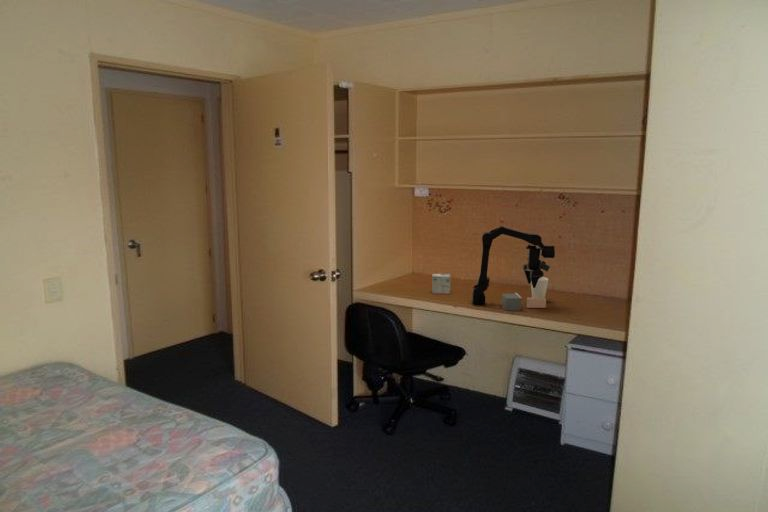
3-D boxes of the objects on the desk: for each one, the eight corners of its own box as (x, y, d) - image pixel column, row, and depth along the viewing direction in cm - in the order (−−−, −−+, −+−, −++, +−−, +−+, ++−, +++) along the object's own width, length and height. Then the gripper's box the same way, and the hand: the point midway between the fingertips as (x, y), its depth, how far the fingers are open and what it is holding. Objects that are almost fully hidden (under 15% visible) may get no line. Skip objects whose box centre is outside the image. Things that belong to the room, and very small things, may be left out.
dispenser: (505, 310, 289) (506, 297, 287) (501, 305, 299) (501, 292, 297) (520, 310, 289) (521, 297, 288) (515, 305, 299) (516, 292, 298)
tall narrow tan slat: (527, 307, 293) (527, 298, 292) (526, 306, 295) (526, 297, 294) (545, 307, 293) (546, 298, 292) (544, 306, 295) (545, 297, 294)
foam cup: (528, 302, 305) (529, 279, 303) (530, 298, 314) (531, 276, 312) (546, 303, 302) (547, 280, 300) (547, 299, 311) (548, 277, 308)
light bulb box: (450, 291, 330) (450, 273, 328) (450, 294, 324) (450, 276, 322) (432, 290, 331) (432, 273, 329) (432, 293, 325) (432, 275, 323)
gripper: (554, 261, 284) (551, 290, 287) (543, 254, 303) (541, 282, 305) (533, 260, 284) (530, 289, 287) (523, 253, 302) (521, 281, 305)
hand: (531, 285), depth 296 cm, fingers open, 9 cm apart
